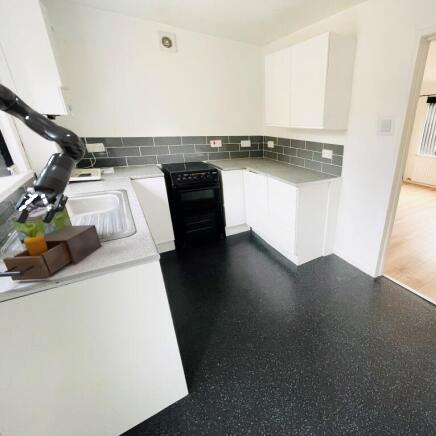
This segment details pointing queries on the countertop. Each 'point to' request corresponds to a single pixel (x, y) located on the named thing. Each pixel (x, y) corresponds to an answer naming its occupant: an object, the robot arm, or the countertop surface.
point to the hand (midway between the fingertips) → (32, 222)
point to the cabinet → (76, 240)
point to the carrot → (34, 241)
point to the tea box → (42, 223)
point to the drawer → (36, 263)
